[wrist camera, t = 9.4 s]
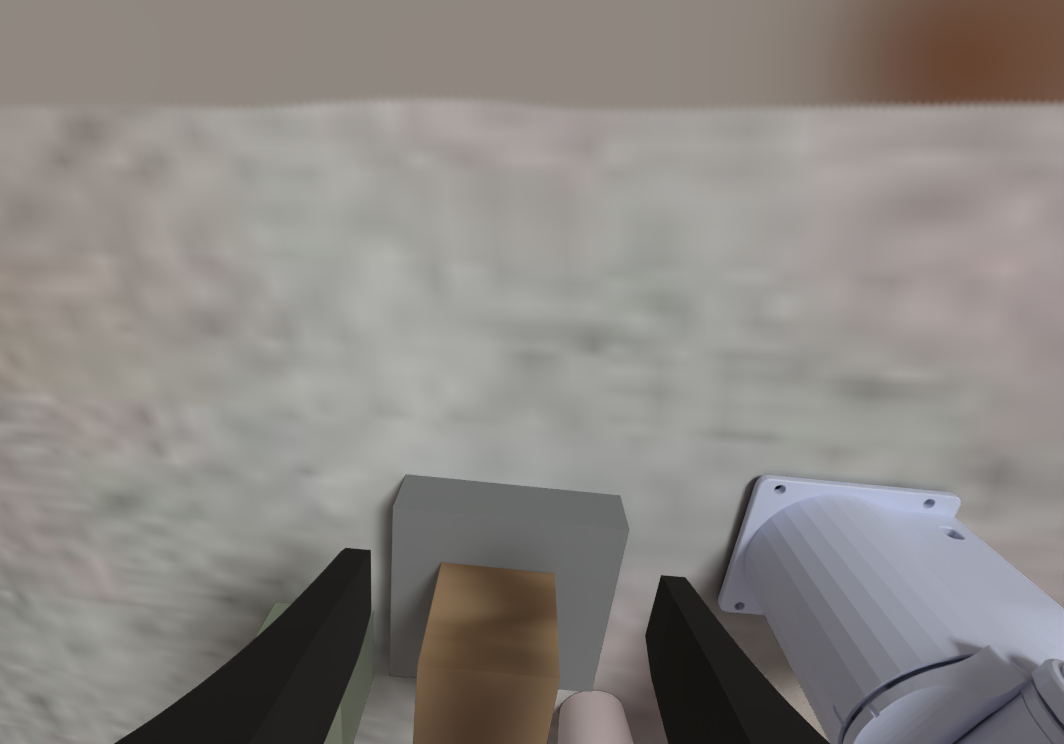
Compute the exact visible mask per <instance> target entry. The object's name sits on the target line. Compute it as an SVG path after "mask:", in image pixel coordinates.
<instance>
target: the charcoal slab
mask: <svg viewBox="0 0 1064 744" xmlns="http://www.w3.org/2000/svg"><path fill="white" fill-rule="evenodd" d="M628 533H629V527H628V523H627V520H626V516H625V512H624V509H623V505H622V501H621V497H620V496H618V495H608V494H598V493H588V492H578V491H568V490H558V489H548V488H538V487H528V486H518V485H508V484H497V483H487V482H477V481H467V480H457V479H447V478H437V477H427V476H417V475H407V474H406V476H405V478H404V480H403V483H402V485H401V488H400V490H399V493H398V495H397V498H396V500H395V503H394V505H393V521H392V570H391V619H390V668H389V676H398V677H411V678H417V667H418V661H419V657H420V653H421V649H422V644H423V640H424V636H425V631H426V627H427V623H428V618H429V614H430V610H431V605H432V601H433V597H434V593H435V588H436V584H437V580H438V575H439V571H440V567H441V562H445V563H455V564H465V565H475V566H485V567H495V568H504V569H514V570H524V571H534V572H544V573H554V574H555V587H556V607H557V627H558V647H559V666H560V682H559V686H558V689H560V690H573V691H585V692H592V688H593V684H594V679H595V675H596V671H597V666H598V662H599V658H600V653H601V649H602V645H603V641H604V636H605V632H606V628H607V623H608V619H609V615H610V610H611V606H612V602H613V597H614V593H615V589H616V584H617V580H618V576H619V571H620V567H621V563H622V558H623V554H624V550H625V545H626V541H627V537H628Z"/></svg>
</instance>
